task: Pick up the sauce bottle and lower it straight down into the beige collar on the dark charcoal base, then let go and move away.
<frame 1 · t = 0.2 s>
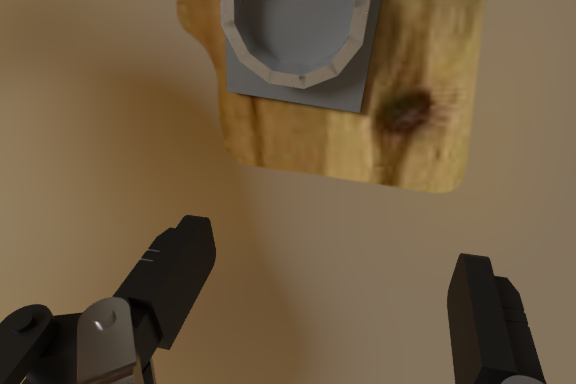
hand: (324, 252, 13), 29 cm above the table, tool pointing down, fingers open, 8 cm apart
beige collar: (298, 7, 34), resting on charcoal base
charcoal base: (301, 4, 35), on the table
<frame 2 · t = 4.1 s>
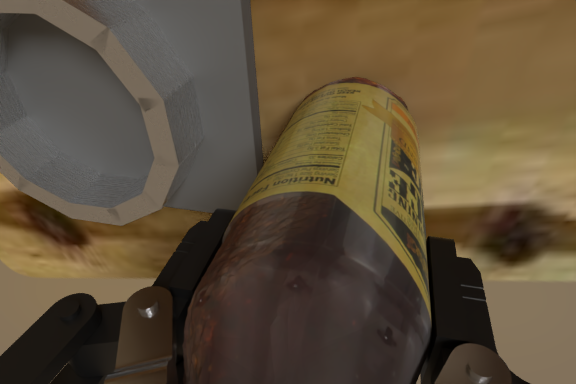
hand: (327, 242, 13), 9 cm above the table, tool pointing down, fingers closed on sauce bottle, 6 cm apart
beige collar: (93, 100, 21), resting on charcoal base
charcoal base: (107, 91, 22), on the table
sauce bottle: (354, 124, 20), on the table, touching gripper
when the fingers open (11 cm above the table, at t = 9.7 s): sauce bottle drops 1 cm, resting on charcoal base.
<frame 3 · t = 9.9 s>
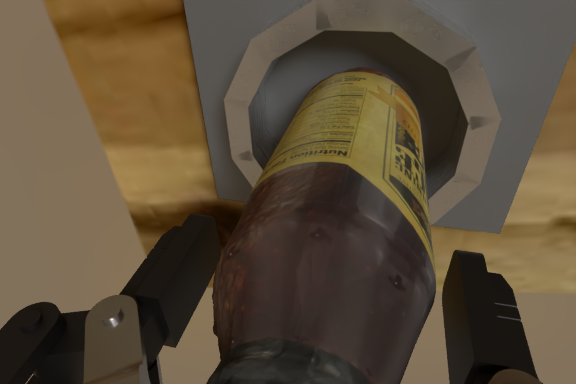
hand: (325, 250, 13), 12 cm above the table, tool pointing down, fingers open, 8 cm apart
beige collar: (356, 114, 21), resting on charcoal base
charcoal base: (358, 105, 22), on the table
sauce bottle: (358, 113, 21), point 1 cm above the table, touching charcoal base
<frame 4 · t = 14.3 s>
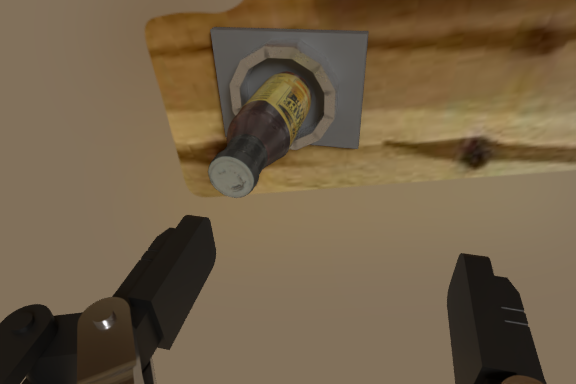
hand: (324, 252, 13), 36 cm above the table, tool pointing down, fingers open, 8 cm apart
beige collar: (287, 92, 47), resting on charcoal base
charcoal base: (289, 88, 48), on the table
sauce bottle: (289, 91, 47), point 1 cm above the table, touching charcoal base
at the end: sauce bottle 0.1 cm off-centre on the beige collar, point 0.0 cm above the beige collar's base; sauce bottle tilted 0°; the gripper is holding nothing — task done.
